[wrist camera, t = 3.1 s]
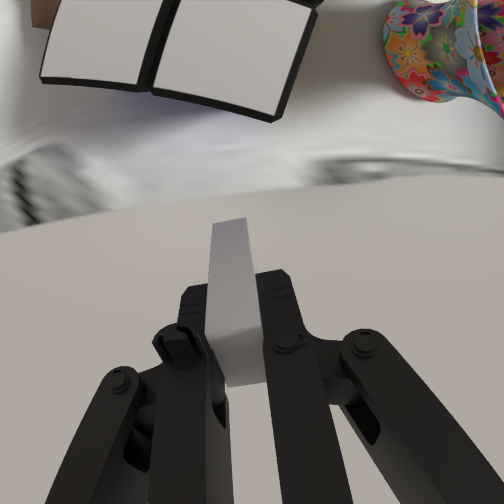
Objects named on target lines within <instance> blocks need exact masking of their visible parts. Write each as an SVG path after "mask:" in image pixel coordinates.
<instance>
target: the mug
mask: <svg viewBox="0 0 504 504" xmlns="http://www.w3.org/2000/svg"><path fill="white" fill-rule="evenodd" d="M383 44H384V49H385V53H386V56H387V59H388V62H389V64H390V66H391V68H392V70H393V72H394V73H395V75H396V76H397V78H398V79H399V80H400V82H401V83H402V84H403V85H404V86H405V87H406V88H407V89H408V90H409V91H411V92H412V93H413V94H415V95H416V96H418V97H420V98H422V99H424V100H426V101H430V102H435V103H442V102H448V101H451V100H453V99H455V98H456V97H459V96H462V97H469V98H472V99H475V100H477V101H479V102H481V103H483V104H485V105H487V106H488V107H489V108H491V109H492V110H494V111H495V112H496V113H497V114H498V115H499V116H500V117H501V118H502V119H503V120H504V0H451V1H448V2H445V3H439V4H434V3H431V2H428V1H425V0H405V1H402V2H400V3H398V4H397V5H396V6H394V7H393V8H392V9H391V11H390V12H389V13H388V15H387V17H386V20H385V23H384V27H383Z"/></svg>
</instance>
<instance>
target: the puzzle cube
mask: <svg viewBox="0 0 504 504" xmlns="http://www.w3.org/2000/svg"><path fill="white" fill-rule="evenodd" d="M323 1H324V0H60V1H59V4H58V7H57V10H56V13H55V16H54V19H53V22H52V25H51V29H50V32H49V36H48V39H47V43H46V47H45V51H44V55H43V59H42V64H41V68H40V73H39V78H40V80H41V81H42V83H43V84H55V85H73V86H85V87H96V88H106V89H114V90H122V91H129V92H136V93H138V92H149V91H151V93H152V95H155V96H160V97H166V98H171V99H176V100H181V101H186V102H191V103H195V104H200V105H204V106H209V107H213V108H217V109H221V110H225V111H229V112H233V113H236V114H240V115H244V116H247V117H251V118H254V119H258V120H261V121H265V122H268V123H272V122H274V121H276V120H278V119H281V118H282V116H283V113H284V110H285V107H286V104H287V101H288V99H289V96H290V93H291V90H292V87H293V84H294V81H295V78H296V76H297V73H298V70H299V67H300V64H301V61H302V59H303V56H304V53H305V50H306V47H307V44H308V42H309V39H310V36H311V33H312V30H313V28H314V25H315V22H316V19H317V17H318V13H317V12H316V10H315V8H316V7H318V6H319V5H320V4H321V3H322V2H323Z"/></svg>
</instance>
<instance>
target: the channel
mask: <svg viewBox="0 0 504 504" xmlns="http://www.w3.org/2000/svg"><path fill="white" fill-rule="evenodd" d="M59 1H60V0H31V16H32V27H36V28H42V29H49V30H50V29H51V25H52V22H53V19H54V16H55V13H56V10H57V7H58V4H59Z"/></svg>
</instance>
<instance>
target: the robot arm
mask: <svg viewBox="0 0 504 504" xmlns="http://www.w3.org/2000/svg"><path fill="white" fill-rule="evenodd" d="M178 315H179V317H178V320H177V323H174V324H170V325H168V326H166V327H164V328H163V329H161V330H160V331H159V332H158V333H157V334H156V335H155V336H154V339H153V341H152V344H153V346H154V347H155V349H156V351H157V352H158V354H159V356H160V358H161V359H162V361H163V363H161V364H160V365H158V366H156V367H154V368H151V369H149V370H146V371H143V372H141V373H137V372H136V370H135V369H134V368H131V367H129V366H121V367H117V368H114V369H113V370H111V371H110V372H109V373H107V374H106V376H105V377H104V378H103V380H102V382H101V384H100V385H99V387H98V389H97V391H96V393H95V395H94V397H93V399H92V401H91V403H90V405H89V407H88V409H87V411H86V413H85V415H84V417H83V419H82V421H81V423H80V425H79V427H78V429H77V431H76V433H75V435H74V437H73V440H72V442H71V444H70V446H69V449H68V450H67V453H66V455H65V457H64V459H63V461H62V464H61V466H60V468H59V471H58V473H57V475H56V477H55V480H54V482H53V485H52V487H51V489H50V492H49V494H48V497H47V500H46V502H45V504H234V497H233V482H232V465H231V446H230V424H229V402H228V398H227V396H226V393H225V382H226V385H227V386H228V387H235V386H243V385H250V384H257V383H263V382H267V387H268V395H269V402H270V410H271V418H272V426H273V433H274V441H275V449H276V457H277V464H278V472H279V480H280V487H281V495H282V503H283V504H353V500H352V495H351V491H350V487H349V483H348V478H347V474H346V470H345V466H344V462H343V458H342V454H341V450H340V446H339V442H338V438H337V434H336V430H335V426H334V422H333V419H332V414H331V411H330V407H329V404H331V405H339V407H340V409H341V410H342V412H343V413H344V415H345V416H346V418H347V420H348V421H349V423H350V425H351V426H352V428H353V429H354V431H355V433H356V434H357V436H358V437H359V439H360V440H361V442H362V444H363V445H364V447H365V448H366V450H367V452H368V453H369V455H370V456H371V458H372V459H373V461H374V463H375V464H376V466H377V467H378V469H379V471H380V472H381V474H382V475H383V477H384V479H385V480H386V482H387V483H388V485H389V486H390V488H391V490H392V491H393V493H394V494H395V496H396V497H397V499H398V501H399V502H400V504H504V482H503V481H502V480H501V478H500V477H499V476H498V474H497V473H496V472H495V470H494V469H493V467H492V466H491V465H490V463H489V462H488V461H487V459H486V458H485V457H484V456H483V454H482V453H481V452H480V450H479V449H478V448H477V446H476V445H475V444H474V443H473V441H472V440H471V439H470V438H469V436H468V435H467V434H466V432H465V431H464V430H463V429H462V427H461V426H460V425H459V424H458V423H457V421H456V420H455V419H454V417H453V416H452V415H451V414H450V413H449V411H448V410H447V409H446V408H445V407H444V405H443V404H442V403H441V402H440V401H439V399H438V398H437V397H436V396H435V394H434V393H433V392H432V391H431V390H430V388H429V387H428V386H427V385H426V384H425V383H424V381H423V380H422V379H421V378H420V377H419V376H418V374H417V373H416V372H415V371H414V370H413V368H412V367H411V366H410V365H409V364H408V363H407V362H406V361H405V359H404V358H403V357H402V356H401V355H400V353H399V352H398V351H397V350H396V349H395V348H394V347H393V345H392V344H391V343H390V342H389V341H388V340H387V339H386V338H385V337H384V336H383V335H382V334H381V333H379V332H378V331H375V330H372V329H358V330H354V331H352V332H350V333H349V334H347V335H346V336H345V337H344V339H343V340H342V341H337V340H324V339H320V338H317V337H315V336H313V335H311V334H310V333H309V332H308V331H307V330H306V328H305V326H304V324H303V320H302V316H301V313H300V309H299V306H298V303H297V299H296V296H295V293H294V289H293V286H292V282H291V279H290V276H289V275H288V274H287V273H285V272H284V271H283V270H282V269H279V270H274V271H269V272H263V273H257V271H256V265H255V260H254V255H253V250H252V245H251V240H250V235H249V230H248V225H247V220H246V218H241V219H235V220H231V221H226V222H220V223H215V224H213V228H212V239H211V252H210V263H209V276H208V283H207V284H201V285H195V286H189V287H188V288H187V289H186V290H185V292H184V293H183V295H182V296H181V302H180V309H179V314H178Z"/></svg>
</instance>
